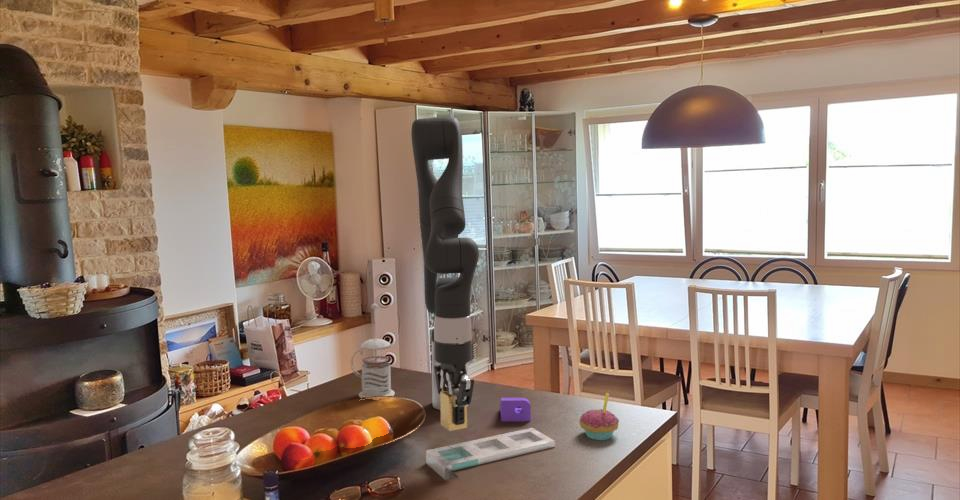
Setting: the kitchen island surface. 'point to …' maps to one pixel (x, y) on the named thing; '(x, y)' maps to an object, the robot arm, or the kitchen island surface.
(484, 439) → the white compartment tray
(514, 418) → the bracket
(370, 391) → the french press
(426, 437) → the kitchen island surface
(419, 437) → the kitchen island surface
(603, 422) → the cupcake
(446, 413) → the brass block
